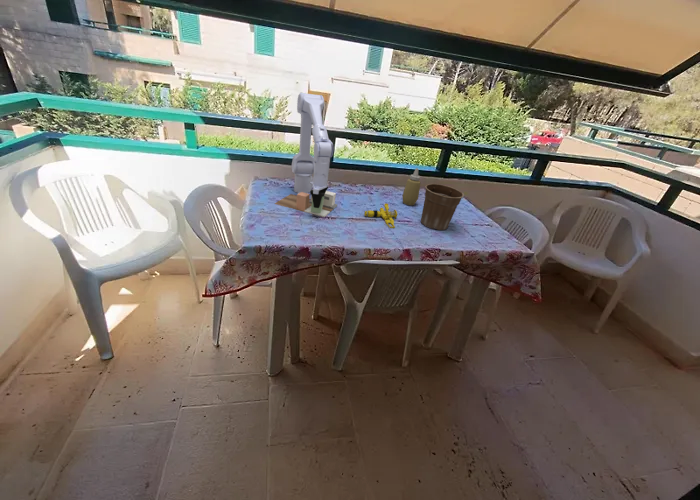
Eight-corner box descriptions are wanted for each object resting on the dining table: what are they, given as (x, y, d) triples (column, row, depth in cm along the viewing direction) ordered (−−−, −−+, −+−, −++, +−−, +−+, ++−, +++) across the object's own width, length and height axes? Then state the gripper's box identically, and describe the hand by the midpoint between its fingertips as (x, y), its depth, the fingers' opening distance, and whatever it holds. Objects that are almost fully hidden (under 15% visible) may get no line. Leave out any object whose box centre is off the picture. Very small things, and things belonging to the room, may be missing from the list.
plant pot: (459, 228, 146) (470, 193, 138) (440, 236, 135) (451, 199, 127) (429, 214, 155) (438, 181, 147) (409, 221, 144) (418, 186, 137)
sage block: (312, 207, 138) (314, 194, 135) (322, 209, 138) (324, 196, 135) (310, 211, 134) (312, 197, 131) (320, 213, 134) (322, 199, 131)
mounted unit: (312, 199, 148) (313, 186, 145) (337, 205, 145) (338, 193, 142) (308, 202, 144) (309, 189, 141) (333, 209, 141) (334, 196, 138)
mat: (310, 207, 140) (310, 206, 139) (329, 212, 138) (329, 211, 137) (304, 211, 135) (304, 210, 134) (324, 217, 133) (324, 216, 132)
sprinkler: (361, 200, 147) (393, 201, 150) (360, 207, 149) (391, 208, 152) (371, 224, 132) (406, 224, 135) (369, 232, 134) (403, 232, 138)
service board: (290, 195, 151) (290, 193, 150) (336, 208, 146) (337, 205, 145) (274, 205, 138) (274, 203, 138) (324, 219, 133) (324, 217, 133)
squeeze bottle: (413, 208, 160) (422, 172, 151) (398, 203, 163) (406, 167, 154) (418, 204, 166) (427, 169, 157) (404, 199, 169) (412, 165, 160)
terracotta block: (300, 205, 140) (301, 191, 137) (308, 207, 139) (309, 194, 136) (296, 208, 137) (297, 194, 134) (304, 210, 136) (305, 196, 133)
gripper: (315, 166, 135) (312, 197, 141) (306, 176, 122) (303, 209, 128) (332, 169, 134) (328, 200, 141) (324, 179, 122) (321, 212, 128)
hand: (317, 205), depth 135 cm, fingers open, 5 cm apart
